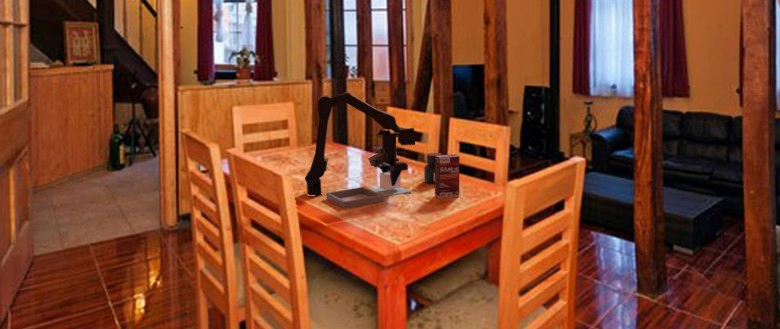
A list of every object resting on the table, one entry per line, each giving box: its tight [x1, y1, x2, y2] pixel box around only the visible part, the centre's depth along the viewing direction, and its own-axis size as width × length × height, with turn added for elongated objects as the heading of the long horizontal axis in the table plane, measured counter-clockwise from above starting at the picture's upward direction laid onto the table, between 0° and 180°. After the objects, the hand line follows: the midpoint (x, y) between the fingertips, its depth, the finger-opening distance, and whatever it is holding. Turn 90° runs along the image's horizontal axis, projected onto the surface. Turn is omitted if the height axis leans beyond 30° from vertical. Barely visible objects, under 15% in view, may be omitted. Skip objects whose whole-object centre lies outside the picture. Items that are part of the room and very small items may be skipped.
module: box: [379, 172, 402, 190], centre depth 220 cm, size 4×7×6 cm, turn 120°
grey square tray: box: [325, 186, 384, 210], centre depth 209 cm, size 16×16×3 cm
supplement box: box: [434, 153, 460, 199], centre depth 212 cm, size 9×5×16 cm, turn 105°
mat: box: [370, 186, 412, 198], centre depth 221 cm, size 12×12×1 cm
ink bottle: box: [423, 152, 443, 185], centre depth 235 cm, size 10×9×12 cm
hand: (390, 184), depth 221 cm, fingers closed on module, 4 cm apart
